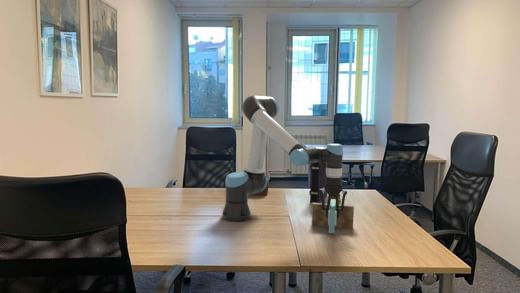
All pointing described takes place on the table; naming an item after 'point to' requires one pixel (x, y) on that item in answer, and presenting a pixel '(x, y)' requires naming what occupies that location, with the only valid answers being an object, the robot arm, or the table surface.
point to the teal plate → (332, 216)
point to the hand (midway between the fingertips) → (332, 224)
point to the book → (317, 181)
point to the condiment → (334, 198)
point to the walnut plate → (342, 222)
